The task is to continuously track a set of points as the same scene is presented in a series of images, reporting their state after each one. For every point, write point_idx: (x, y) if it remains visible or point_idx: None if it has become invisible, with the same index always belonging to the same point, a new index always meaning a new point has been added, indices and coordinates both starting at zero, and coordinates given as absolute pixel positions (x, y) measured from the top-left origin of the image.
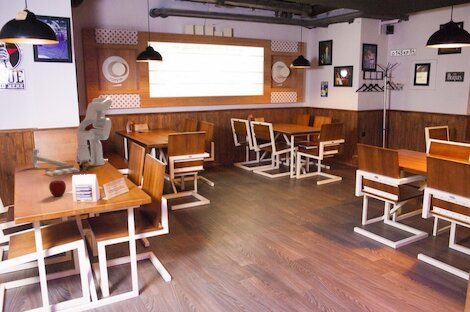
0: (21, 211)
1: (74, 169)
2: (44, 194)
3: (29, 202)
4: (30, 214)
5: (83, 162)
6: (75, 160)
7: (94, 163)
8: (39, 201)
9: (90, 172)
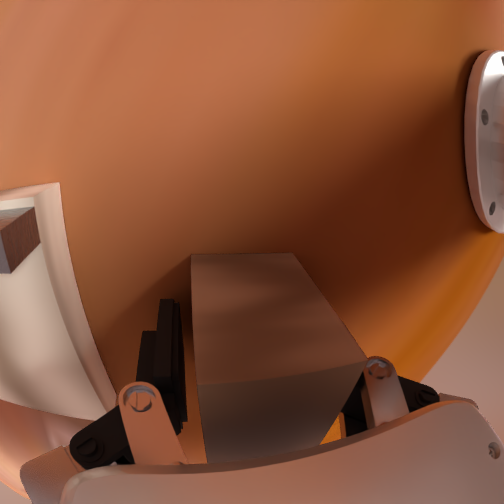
0: (13, 489)
1: (52, 399)
2: (15, 482)
3: (7, 482)
4: (29, 498)
5: (245, 449)
6: (44, 499)
7: (499, 173)
8: (22, 490)
9: (201, 456)
